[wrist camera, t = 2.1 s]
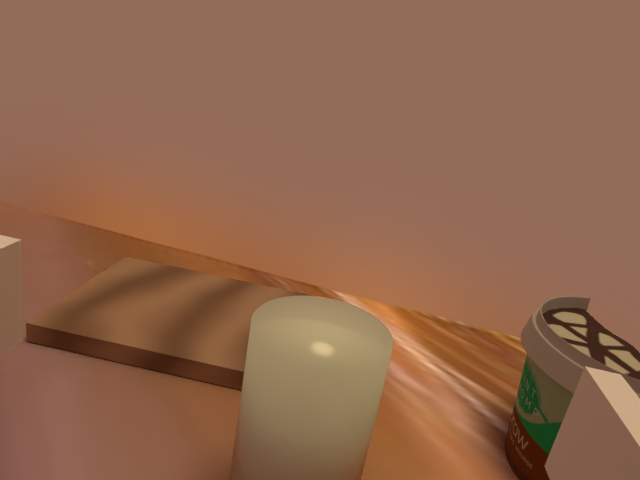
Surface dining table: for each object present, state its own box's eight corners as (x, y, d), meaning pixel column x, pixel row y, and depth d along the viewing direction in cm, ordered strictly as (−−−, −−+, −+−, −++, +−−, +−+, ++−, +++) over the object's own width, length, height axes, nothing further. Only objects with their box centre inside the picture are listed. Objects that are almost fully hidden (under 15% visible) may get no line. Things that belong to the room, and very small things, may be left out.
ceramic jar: (352, 481, 29) (393, 311, 25) (342, 588, 23) (394, 385, 19) (244, 456, 29) (269, 285, 26) (206, 554, 23) (232, 349, 20)
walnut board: (344, 317, 48) (347, 303, 47) (327, 409, 34) (330, 391, 34) (124, 270, 49) (124, 256, 49) (26, 341, 36) (26, 322, 36)
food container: (464, 401, 38) (501, 281, 35) (542, 411, 39) (585, 294, 35) (531, 549, 26) (596, 391, 23) (641, 562, 27) (720, 407, 24)
